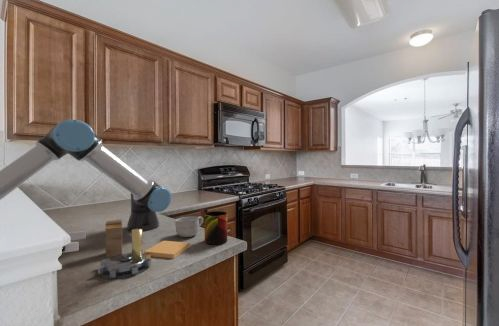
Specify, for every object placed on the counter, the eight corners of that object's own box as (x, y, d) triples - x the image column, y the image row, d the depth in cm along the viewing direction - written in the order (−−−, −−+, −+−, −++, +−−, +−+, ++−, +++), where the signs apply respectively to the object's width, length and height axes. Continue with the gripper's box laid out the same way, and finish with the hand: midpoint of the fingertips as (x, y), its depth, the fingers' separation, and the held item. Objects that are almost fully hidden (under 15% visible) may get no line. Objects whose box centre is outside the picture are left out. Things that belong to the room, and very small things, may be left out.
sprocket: (92, 266, 75) (92, 229, 75) (141, 253, 86) (140, 220, 86) (106, 283, 65) (105, 240, 65) (159, 265, 76) (159, 228, 76)
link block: (107, 252, 88) (106, 220, 88) (122, 250, 91) (122, 219, 91) (105, 257, 84) (105, 224, 84) (121, 254, 86) (121, 222, 86)
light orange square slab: (163, 244, 97) (163, 240, 97) (190, 246, 94) (190, 242, 94) (144, 255, 85) (144, 251, 85) (173, 258, 83) (173, 254, 83)
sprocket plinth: (124, 257, 84) (124, 256, 84) (159, 260, 81) (159, 259, 81) (87, 276, 70) (87, 275, 70) (128, 281, 67) (128, 280, 67)
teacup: (180, 241, 101) (179, 222, 101) (172, 234, 110) (171, 217, 110) (209, 235, 109) (209, 217, 109) (199, 229, 118) (199, 213, 118)
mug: (223, 234, 110) (223, 208, 110) (229, 244, 97) (229, 215, 97) (202, 236, 108) (202, 210, 107) (205, 246, 94) (205, 216, 94)
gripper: (17, 249, 84) (88, 240, 94) (-24, 280, 62) (74, 264, 72) (17, 228, 84) (88, 221, 94) (-25, 251, 62) (74, 239, 72)
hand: (82, 240), depth 83 cm, fingers open, 13 cm apart
